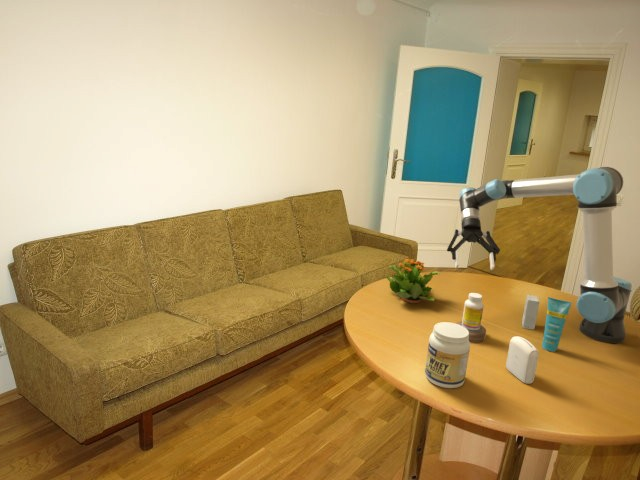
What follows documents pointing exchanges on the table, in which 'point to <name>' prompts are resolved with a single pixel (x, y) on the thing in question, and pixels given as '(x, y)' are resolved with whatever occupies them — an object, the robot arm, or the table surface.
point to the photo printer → (522, 359)
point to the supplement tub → (447, 355)
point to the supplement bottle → (473, 312)
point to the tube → (554, 323)
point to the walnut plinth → (476, 334)
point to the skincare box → (530, 312)
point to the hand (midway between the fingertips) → (474, 267)
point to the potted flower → (411, 282)
